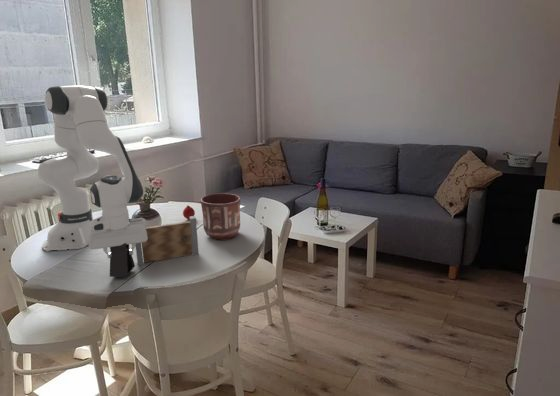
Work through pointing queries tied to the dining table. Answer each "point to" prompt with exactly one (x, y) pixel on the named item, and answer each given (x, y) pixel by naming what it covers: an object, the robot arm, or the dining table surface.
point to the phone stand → (120, 261)
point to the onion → (188, 212)
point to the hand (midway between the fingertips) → (120, 255)
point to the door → (167, 241)
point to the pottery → (221, 215)
